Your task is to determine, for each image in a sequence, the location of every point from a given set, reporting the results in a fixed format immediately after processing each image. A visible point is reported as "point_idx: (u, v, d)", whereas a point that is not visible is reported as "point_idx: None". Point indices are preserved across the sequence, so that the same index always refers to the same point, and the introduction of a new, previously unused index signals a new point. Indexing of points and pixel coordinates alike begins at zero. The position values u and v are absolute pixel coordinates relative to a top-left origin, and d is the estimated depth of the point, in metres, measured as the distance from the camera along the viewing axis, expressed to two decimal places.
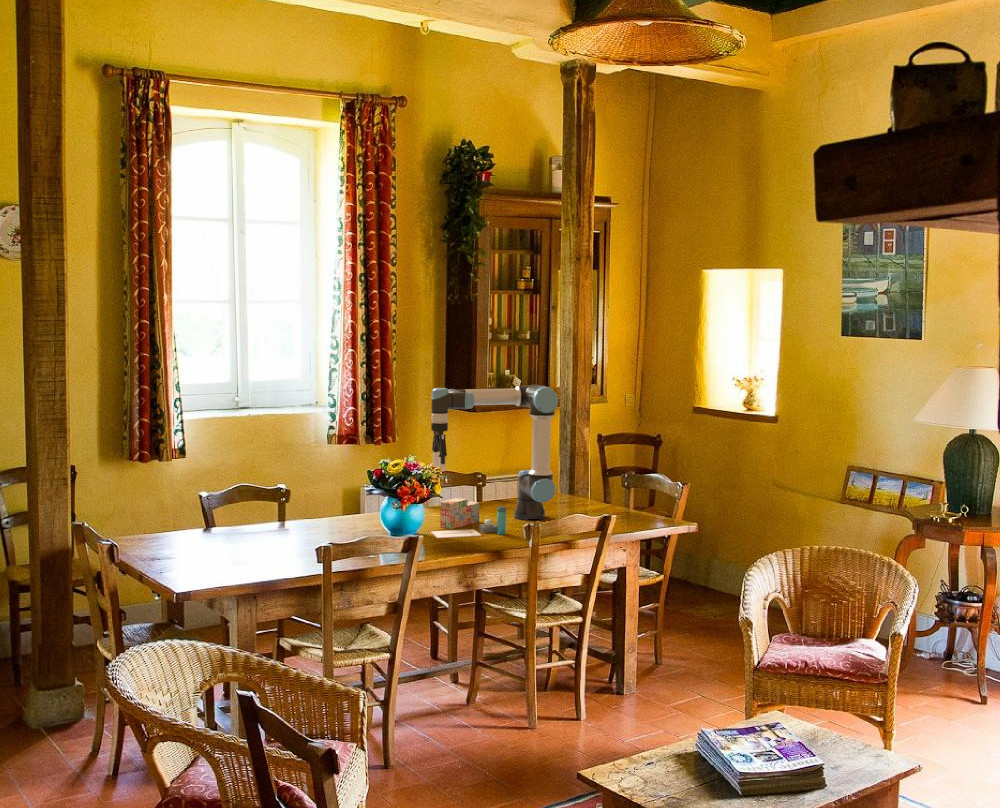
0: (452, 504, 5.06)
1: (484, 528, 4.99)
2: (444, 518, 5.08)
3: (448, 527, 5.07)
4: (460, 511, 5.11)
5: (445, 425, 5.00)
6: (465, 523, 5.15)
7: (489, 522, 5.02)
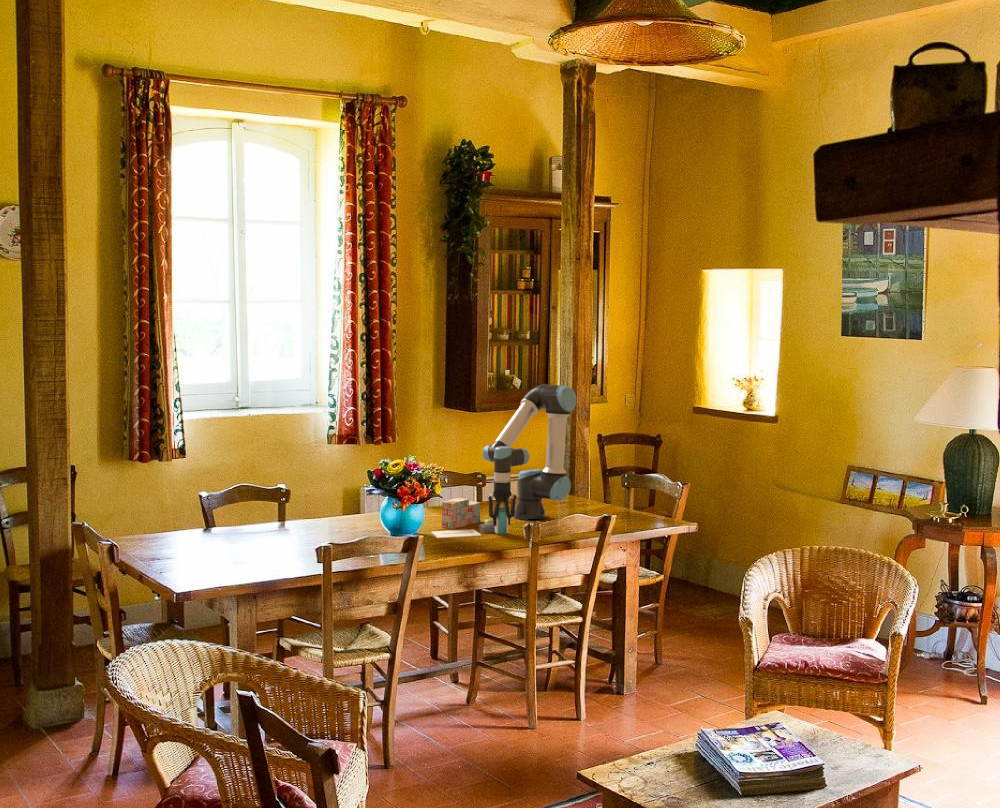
0: (454, 504, 5.06)
1: (484, 528, 4.99)
2: (445, 518, 5.08)
3: (450, 527, 5.07)
4: (462, 511, 5.11)
5: (497, 484, 4.93)
6: (466, 523, 5.15)
7: (489, 522, 5.02)
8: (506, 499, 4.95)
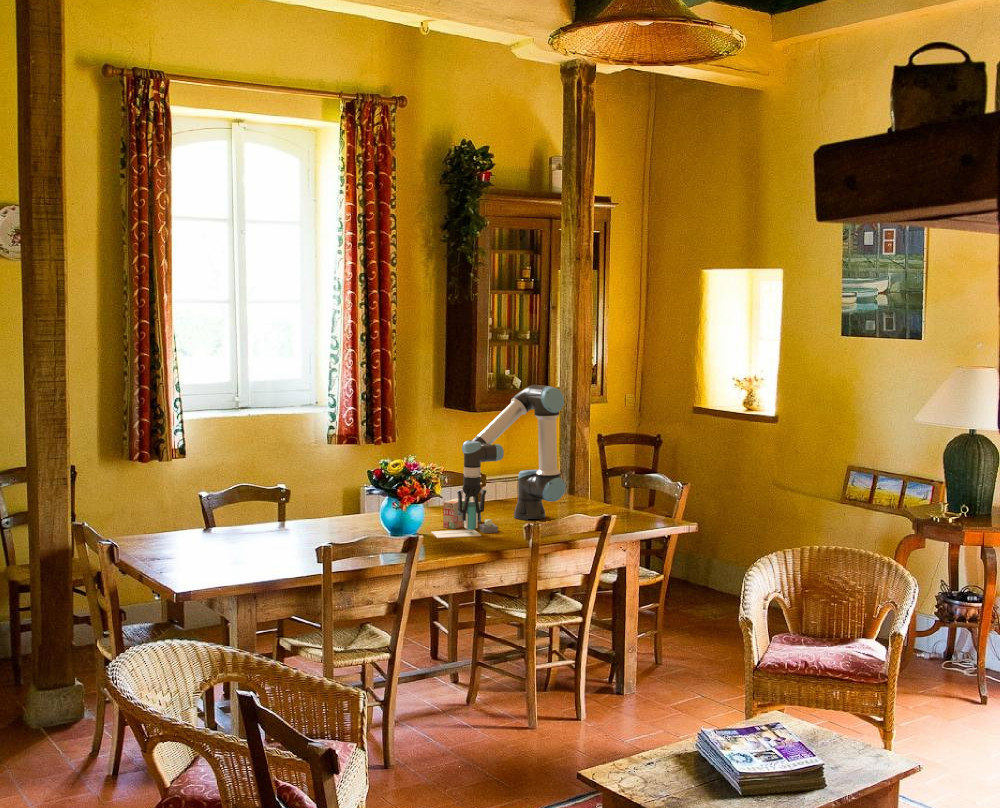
0: (455, 504, 5.06)
1: (484, 528, 4.99)
2: (447, 518, 5.08)
3: (451, 527, 5.07)
4: None
5: (466, 479, 4.93)
6: None
7: (489, 522, 5.02)
8: (475, 494, 4.95)
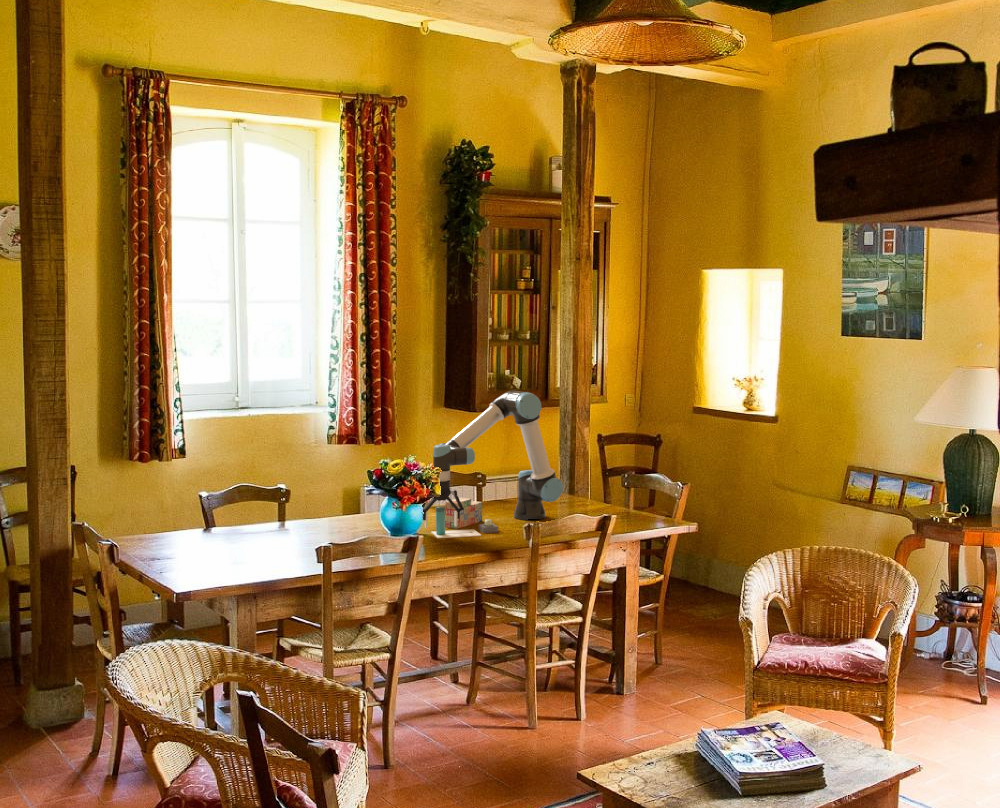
0: (457, 504, 5.06)
1: (484, 528, 4.99)
2: (449, 518, 5.08)
3: (453, 527, 5.07)
4: (465, 511, 5.12)
5: None
6: (469, 523, 5.16)
7: (489, 522, 5.02)
8: (447, 497, 4.91)
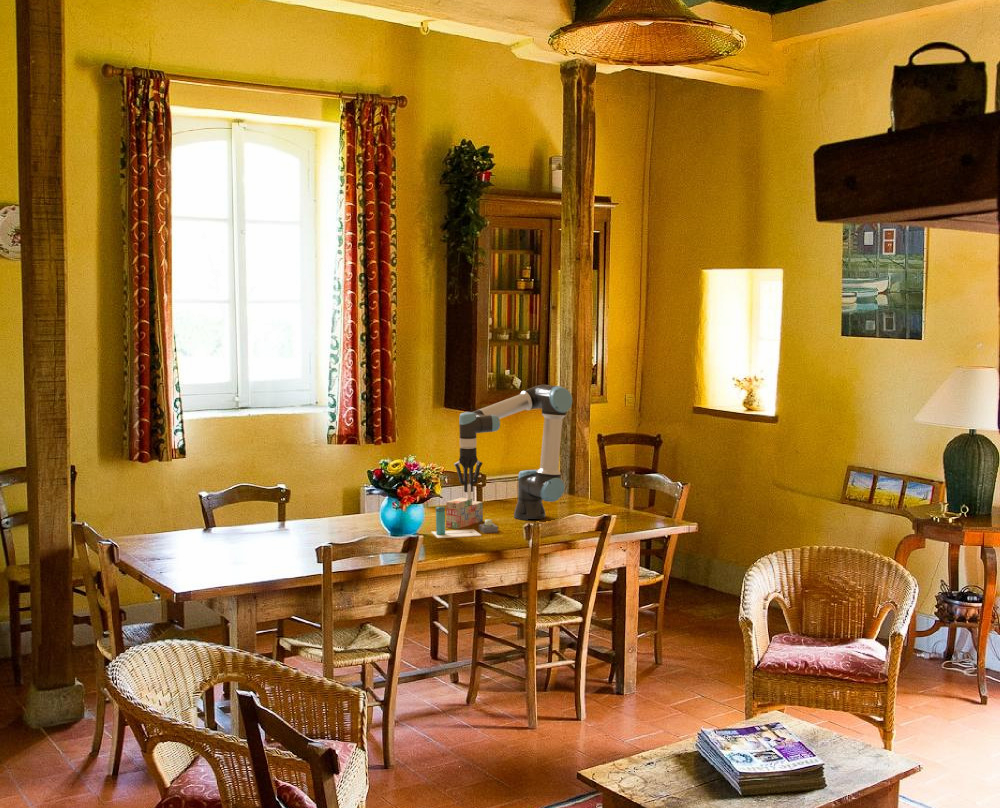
0: (458, 504, 5.07)
1: (484, 528, 4.99)
2: (450, 518, 5.08)
3: (454, 527, 5.08)
4: (466, 511, 5.12)
5: (462, 450, 4.92)
6: (470, 522, 5.16)
7: (489, 522, 5.02)
8: (471, 465, 4.95)
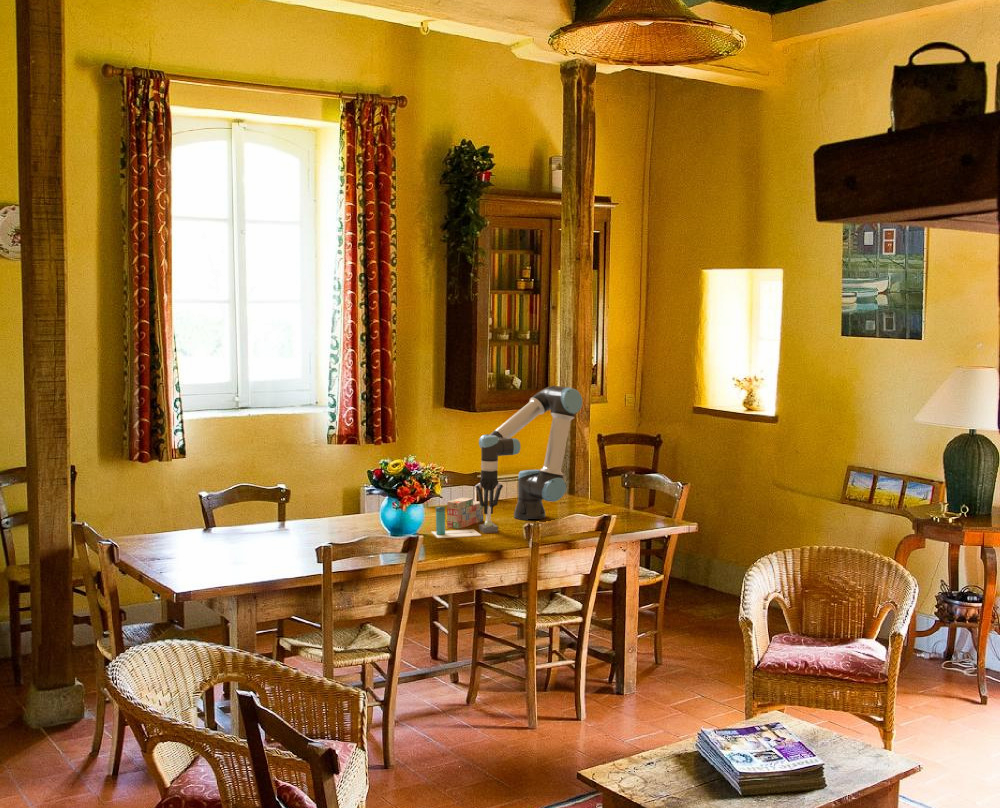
0: (459, 504, 5.07)
1: (484, 528, 4.99)
2: (451, 518, 5.09)
3: (455, 527, 5.08)
4: (467, 511, 5.12)
5: (484, 473, 4.98)
6: (471, 522, 5.16)
7: (489, 523, 5.02)
8: (492, 487, 5.00)
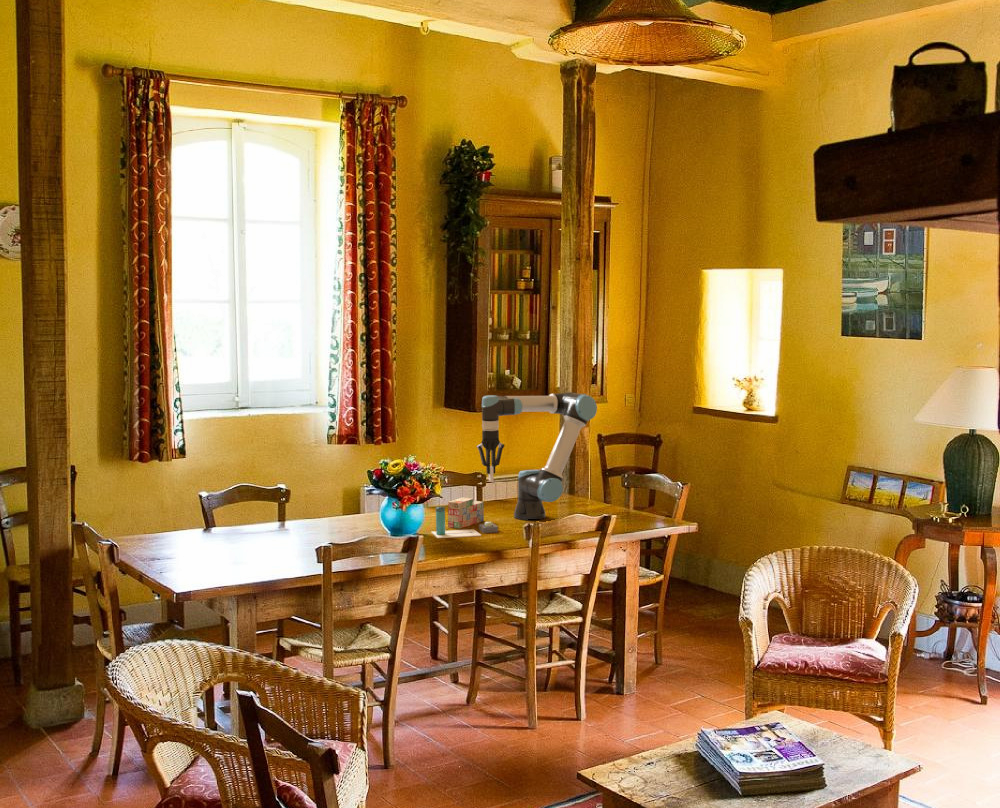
0: (460, 504, 5.07)
1: (484, 528, 4.99)
2: (452, 518, 5.09)
3: (456, 527, 5.08)
4: (468, 511, 5.13)
5: (485, 433, 5.01)
6: (471, 522, 5.16)
7: (489, 524, 5.02)
8: (494, 447, 5.03)
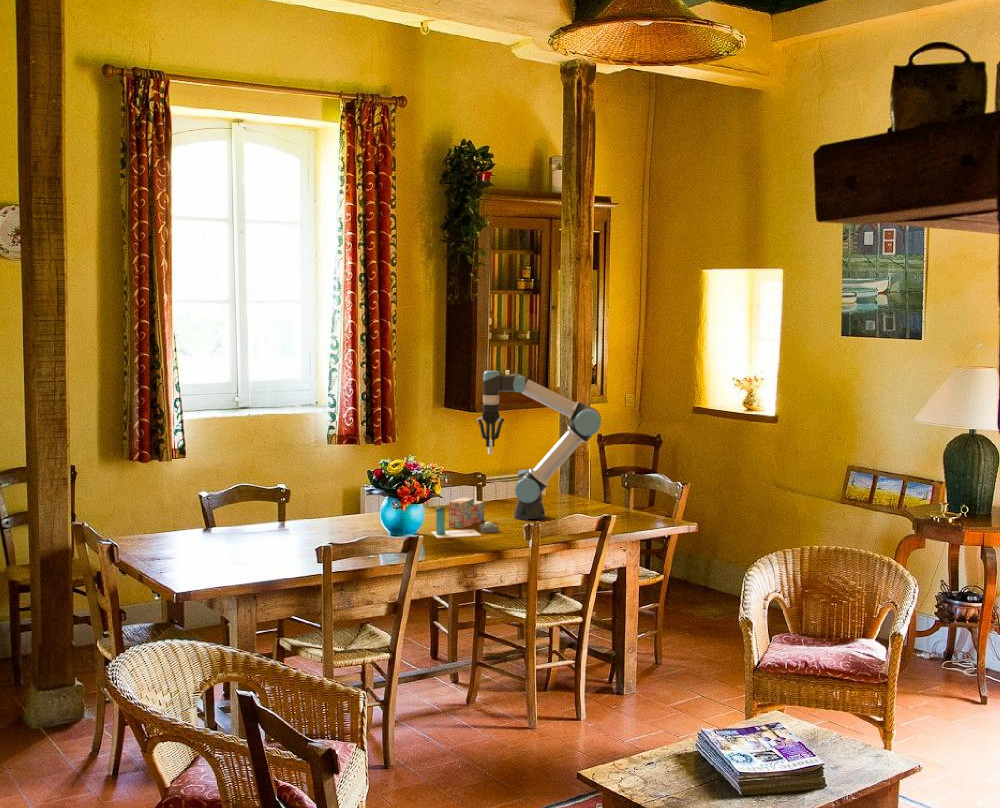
0: (461, 504, 5.07)
1: (484, 528, 4.99)
2: (452, 518, 5.09)
3: (457, 527, 5.08)
4: (468, 510, 5.13)
5: (485, 406, 5.15)
6: (472, 522, 5.17)
7: (489, 524, 5.02)
8: (494, 421, 5.17)
